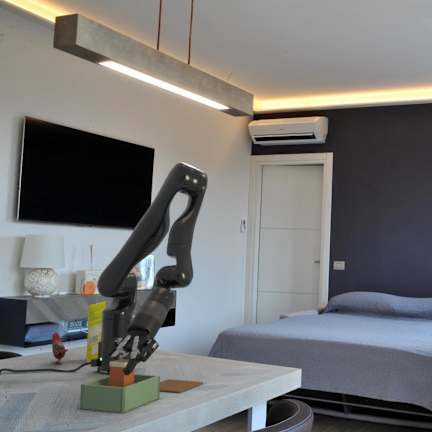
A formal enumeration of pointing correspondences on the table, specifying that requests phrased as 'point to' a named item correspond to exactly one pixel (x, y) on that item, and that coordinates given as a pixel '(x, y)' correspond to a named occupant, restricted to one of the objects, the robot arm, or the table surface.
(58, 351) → the decorative bird figurine
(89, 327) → the food package
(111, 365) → the tea packet
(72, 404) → the table surface
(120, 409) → the bin
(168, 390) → the cork mat
